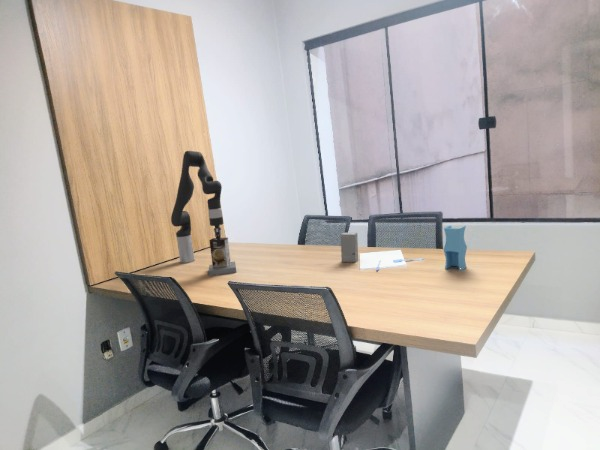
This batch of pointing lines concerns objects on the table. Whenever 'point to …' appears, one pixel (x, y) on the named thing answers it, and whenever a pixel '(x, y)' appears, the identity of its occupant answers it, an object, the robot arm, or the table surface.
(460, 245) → the vase
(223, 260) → the coffee box
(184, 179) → the robot arm
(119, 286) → the table surface
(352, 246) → the skincare box
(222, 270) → the riser
